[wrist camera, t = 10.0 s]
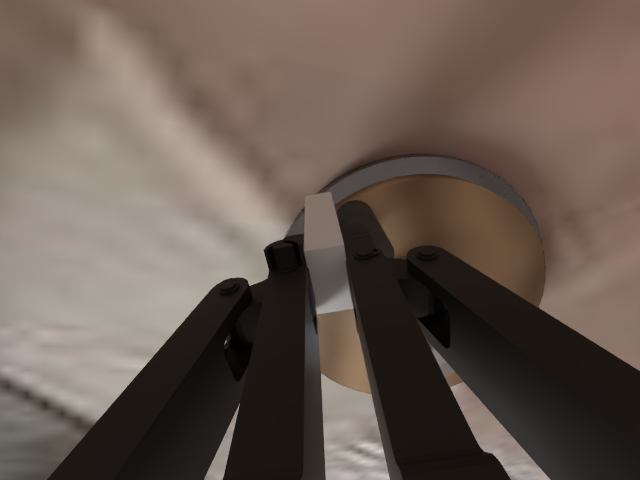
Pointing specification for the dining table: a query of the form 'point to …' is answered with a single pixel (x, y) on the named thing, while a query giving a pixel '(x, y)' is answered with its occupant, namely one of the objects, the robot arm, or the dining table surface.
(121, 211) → the dining table surface
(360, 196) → the platter
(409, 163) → the turntable base
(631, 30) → the dining table surface
